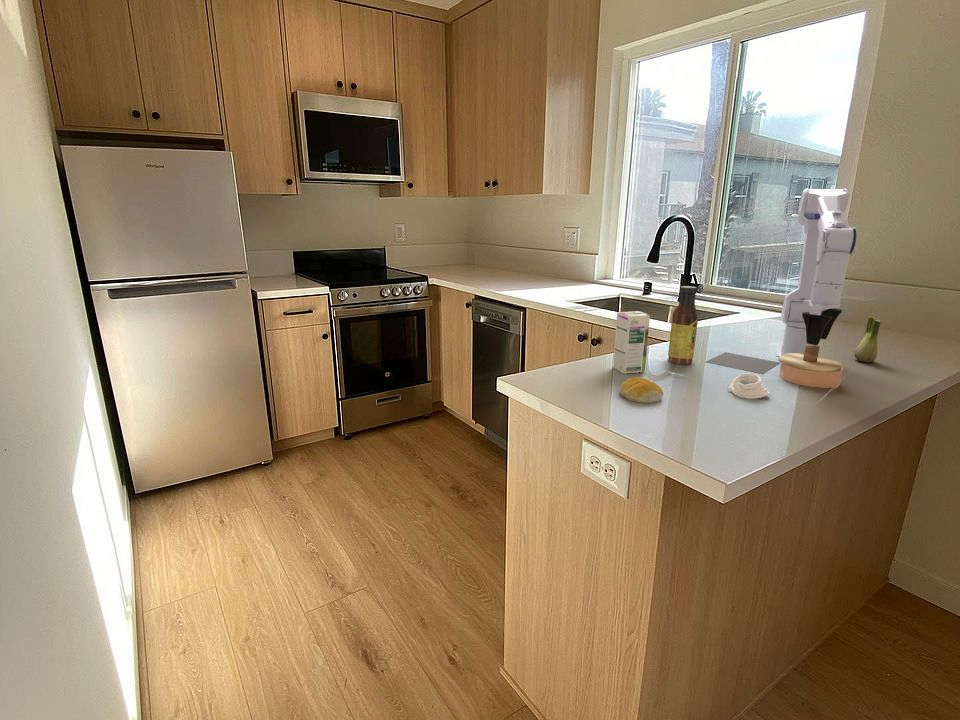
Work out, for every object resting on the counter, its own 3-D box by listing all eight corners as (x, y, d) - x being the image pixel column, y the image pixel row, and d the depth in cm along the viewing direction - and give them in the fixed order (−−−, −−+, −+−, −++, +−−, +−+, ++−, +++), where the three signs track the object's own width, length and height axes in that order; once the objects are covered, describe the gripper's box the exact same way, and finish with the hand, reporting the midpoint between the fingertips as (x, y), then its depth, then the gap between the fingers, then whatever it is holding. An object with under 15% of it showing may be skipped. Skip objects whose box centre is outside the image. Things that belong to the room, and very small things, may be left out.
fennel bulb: (873, 365, 137) (883, 320, 134) (850, 361, 140) (860, 317, 137) (876, 360, 141) (887, 317, 138) (854, 357, 144) (864, 314, 141)
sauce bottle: (694, 366, 134) (705, 289, 128) (668, 365, 135) (678, 288, 129) (690, 359, 140) (699, 285, 134) (665, 358, 141) (674, 284, 135)
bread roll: (645, 388, 118) (647, 371, 116) (668, 402, 109) (670, 384, 108) (612, 391, 116) (613, 373, 115) (632, 405, 107) (634, 387, 106)
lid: (787, 353, 132) (790, 336, 131) (846, 364, 123) (850, 346, 122) (771, 363, 123) (775, 345, 122) (834, 375, 115) (838, 356, 113)
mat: (725, 353, 146) (725, 352, 146) (780, 364, 137) (780, 362, 137) (704, 363, 137) (705, 361, 136) (762, 375, 127) (762, 373, 127)
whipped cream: (771, 399, 114) (777, 378, 113) (760, 404, 110) (767, 382, 108) (734, 388, 120) (740, 367, 118) (722, 392, 115) (728, 371, 114)
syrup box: (624, 374, 127) (629, 315, 123) (612, 367, 132) (617, 310, 128) (645, 372, 128) (651, 314, 124) (632, 365, 134) (637, 310, 130)
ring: (788, 369, 132) (791, 354, 131) (844, 380, 124) (847, 364, 123) (773, 380, 124) (776, 364, 123) (832, 392, 116) (836, 375, 115)
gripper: (816, 278, 125) (805, 333, 129) (799, 283, 115) (788, 343, 119) (851, 281, 120) (839, 338, 124) (836, 287, 110) (824, 349, 114)
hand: (816, 341), depth 121 cm, fingers open, 7 cm apart
